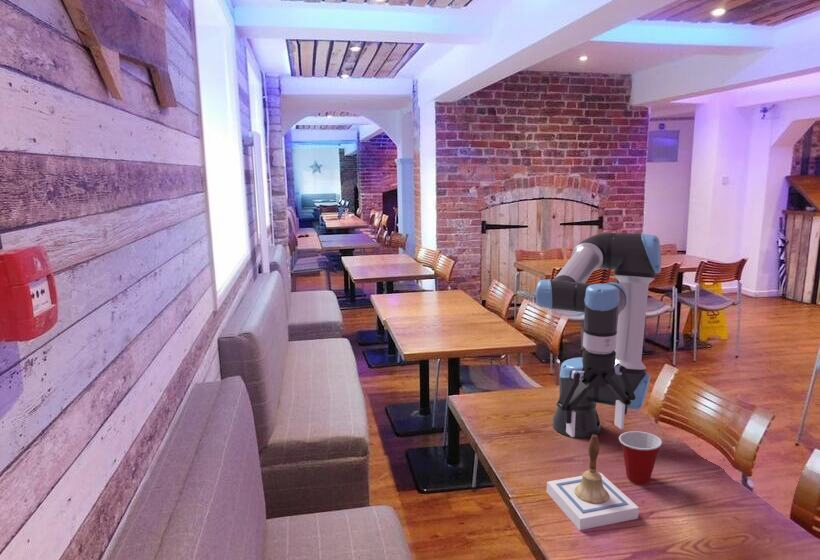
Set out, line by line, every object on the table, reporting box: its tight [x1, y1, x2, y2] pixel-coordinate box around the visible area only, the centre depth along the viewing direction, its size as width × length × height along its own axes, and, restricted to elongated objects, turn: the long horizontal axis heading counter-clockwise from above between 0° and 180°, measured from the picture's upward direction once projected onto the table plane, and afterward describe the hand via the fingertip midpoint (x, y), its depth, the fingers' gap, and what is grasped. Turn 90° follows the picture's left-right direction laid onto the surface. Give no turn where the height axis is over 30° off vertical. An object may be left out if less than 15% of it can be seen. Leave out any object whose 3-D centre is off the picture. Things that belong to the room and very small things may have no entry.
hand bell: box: [574, 435, 609, 503], centre depth 134 cm, size 8×8×16 cm
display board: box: [546, 472, 640, 531], centre depth 136 cm, size 16×16×3 cm
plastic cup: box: [618, 430, 663, 485], centre depth 146 cm, size 11×11×12 cm
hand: (594, 430), depth 133 cm, fingers open, 13 cm apart
